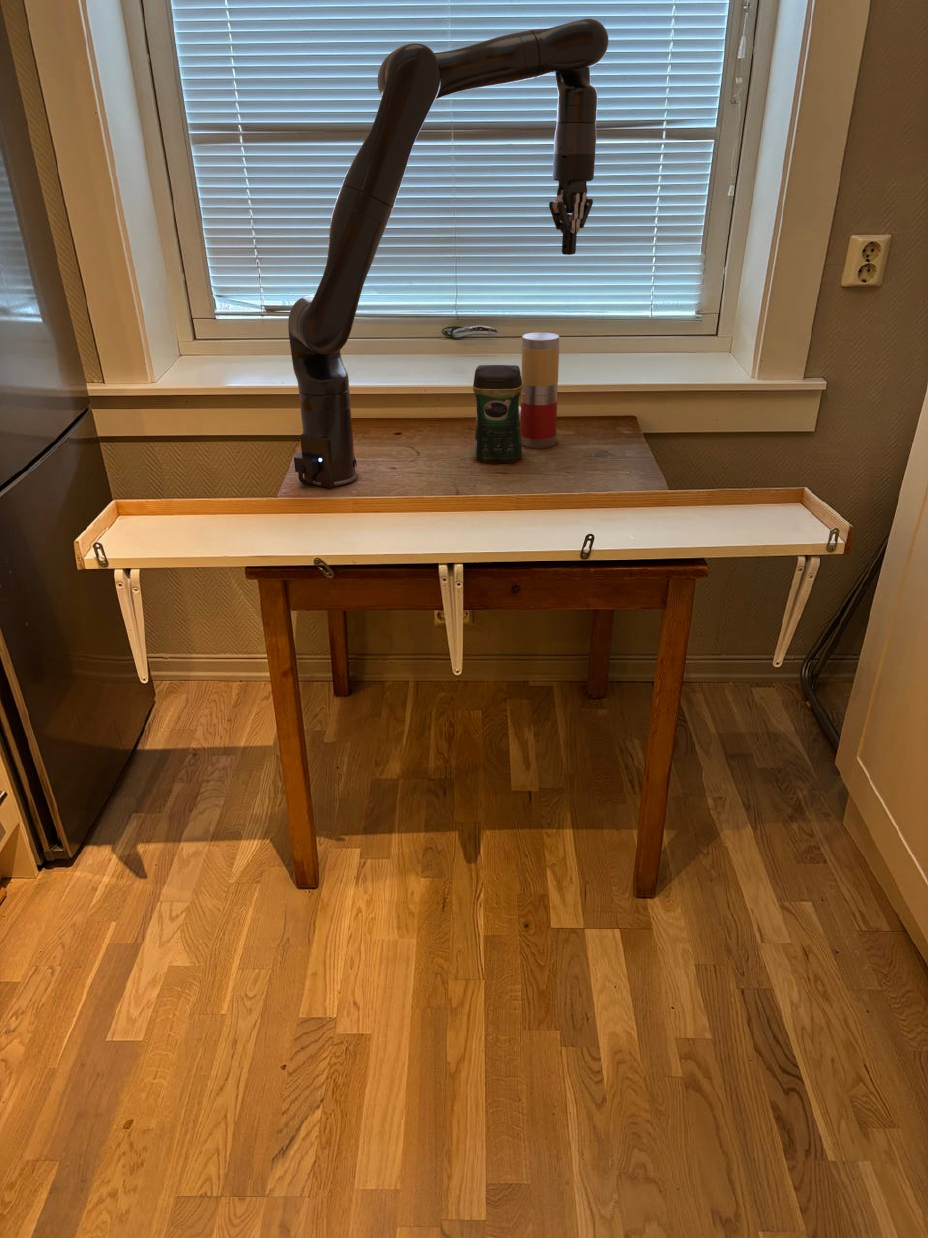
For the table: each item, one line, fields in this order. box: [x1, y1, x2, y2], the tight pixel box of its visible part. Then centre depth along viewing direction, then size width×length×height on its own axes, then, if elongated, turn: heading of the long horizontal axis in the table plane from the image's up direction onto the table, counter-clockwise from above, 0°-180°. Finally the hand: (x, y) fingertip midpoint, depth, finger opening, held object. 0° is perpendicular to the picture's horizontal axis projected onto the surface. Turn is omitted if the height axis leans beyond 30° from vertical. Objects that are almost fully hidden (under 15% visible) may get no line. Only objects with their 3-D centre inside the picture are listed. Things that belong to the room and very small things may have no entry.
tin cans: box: [519, 331, 560, 449], centre depth 187 cm, size 8×8×22 cm
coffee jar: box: [472, 364, 523, 464], centre depth 180 cm, size 10×8×19 cm
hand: (568, 253), depth 172 cm, fingers closed
